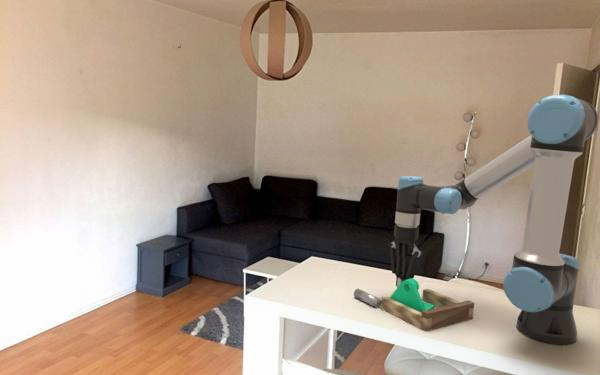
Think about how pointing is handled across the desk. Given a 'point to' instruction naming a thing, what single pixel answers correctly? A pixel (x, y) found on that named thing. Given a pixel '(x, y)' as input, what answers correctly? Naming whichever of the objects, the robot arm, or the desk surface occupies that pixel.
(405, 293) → the camera mount
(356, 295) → the shaft stub
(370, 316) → the desk surface
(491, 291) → the desk surface
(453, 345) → the desk surface
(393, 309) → the u-shaped wooden frame
